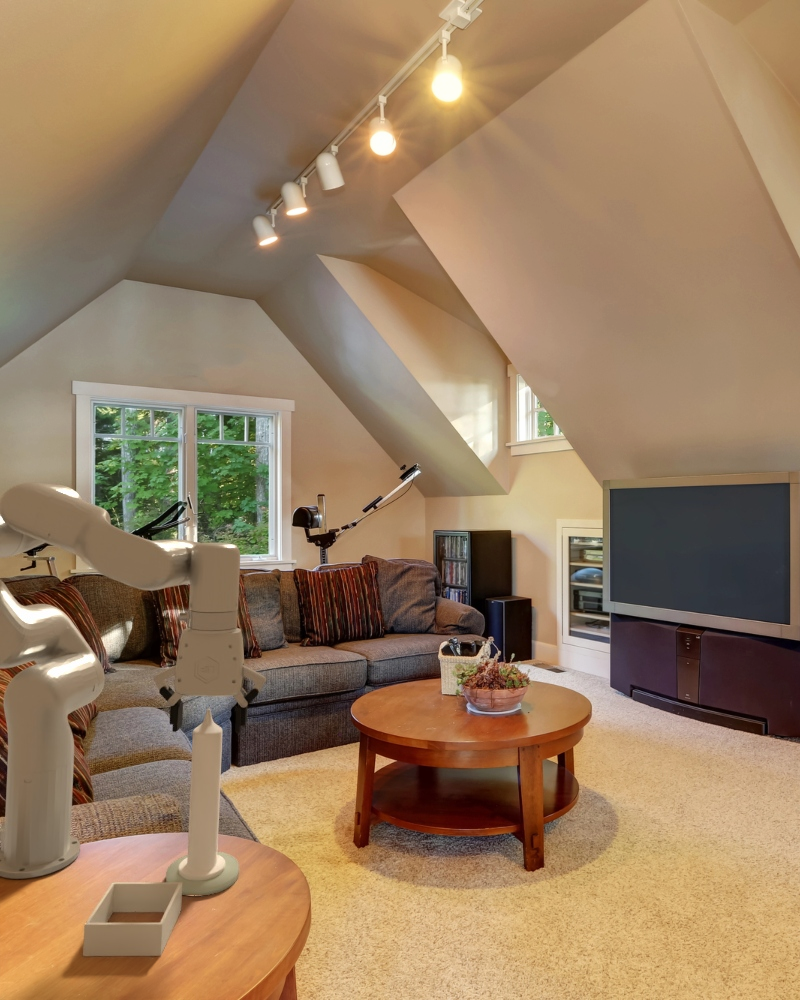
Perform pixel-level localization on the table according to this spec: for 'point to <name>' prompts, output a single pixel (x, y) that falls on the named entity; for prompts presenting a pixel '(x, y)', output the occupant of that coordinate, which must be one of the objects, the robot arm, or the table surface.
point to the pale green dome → (206, 886)
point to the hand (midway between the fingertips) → (208, 729)
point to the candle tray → (133, 935)
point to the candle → (204, 804)
